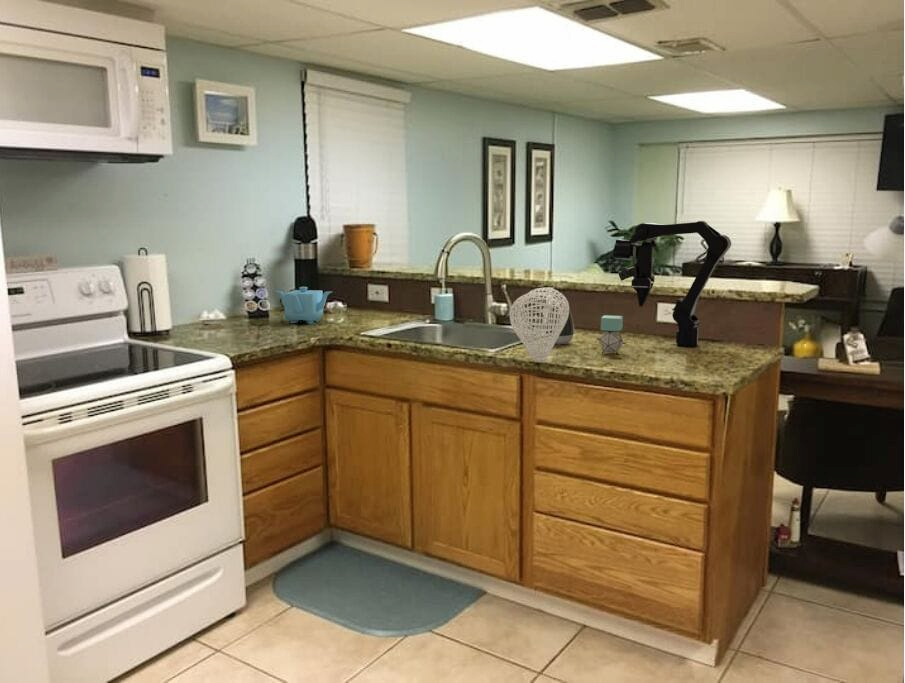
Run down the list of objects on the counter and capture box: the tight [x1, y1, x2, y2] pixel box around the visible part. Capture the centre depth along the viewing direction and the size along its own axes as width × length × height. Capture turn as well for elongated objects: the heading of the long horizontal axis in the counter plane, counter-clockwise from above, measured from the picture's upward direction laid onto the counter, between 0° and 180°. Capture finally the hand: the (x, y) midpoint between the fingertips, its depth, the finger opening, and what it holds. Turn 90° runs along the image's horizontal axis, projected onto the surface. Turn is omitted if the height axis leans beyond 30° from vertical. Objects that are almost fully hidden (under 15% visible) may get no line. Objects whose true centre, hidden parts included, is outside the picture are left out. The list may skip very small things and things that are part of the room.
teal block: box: [600, 314, 624, 332], centre depth 251 cm, size 6×6×4 cm
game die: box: [596, 329, 627, 355], centre depth 252 cm, size 9×8×10 cm
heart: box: [509, 287, 570, 363], centre depth 237 cm, size 28×16×22 cm, turn 163°
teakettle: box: [274, 286, 332, 325], centre depth 322 cm, size 19×19×15 cm
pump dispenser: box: [545, 301, 575, 345], centre depth 269 cm, size 10×10×15 cm
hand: (642, 304), depth 271 cm, fingers open, 9 cm apart
